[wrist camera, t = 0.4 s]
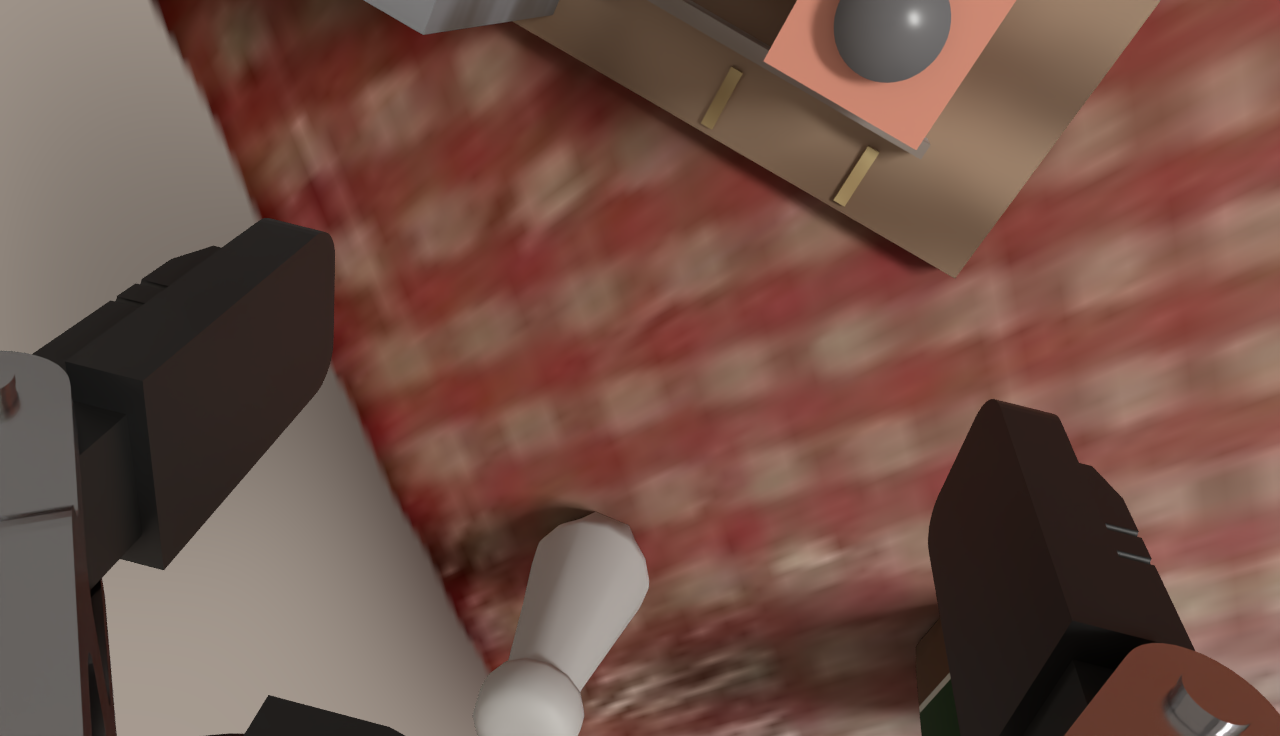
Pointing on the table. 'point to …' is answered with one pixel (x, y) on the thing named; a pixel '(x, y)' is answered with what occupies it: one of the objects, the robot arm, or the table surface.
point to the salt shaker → (564, 628)
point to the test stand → (824, 131)
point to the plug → (887, 55)
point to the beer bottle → (935, 686)
